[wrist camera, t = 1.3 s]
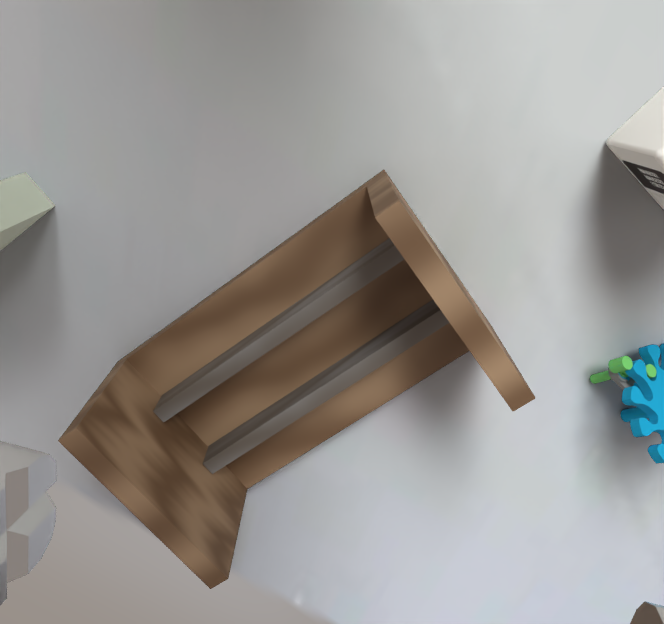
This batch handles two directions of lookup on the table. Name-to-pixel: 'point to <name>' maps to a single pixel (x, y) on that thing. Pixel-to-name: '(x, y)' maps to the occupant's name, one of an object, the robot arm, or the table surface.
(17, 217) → the door panel
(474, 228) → the table surface
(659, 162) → the container
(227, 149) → the table surface
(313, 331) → the cabinet base
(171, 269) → the table surface
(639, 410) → the gear
